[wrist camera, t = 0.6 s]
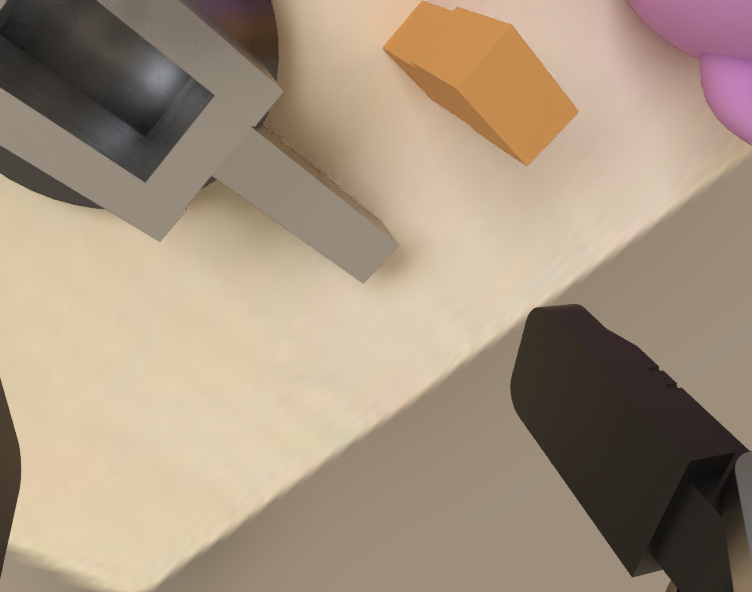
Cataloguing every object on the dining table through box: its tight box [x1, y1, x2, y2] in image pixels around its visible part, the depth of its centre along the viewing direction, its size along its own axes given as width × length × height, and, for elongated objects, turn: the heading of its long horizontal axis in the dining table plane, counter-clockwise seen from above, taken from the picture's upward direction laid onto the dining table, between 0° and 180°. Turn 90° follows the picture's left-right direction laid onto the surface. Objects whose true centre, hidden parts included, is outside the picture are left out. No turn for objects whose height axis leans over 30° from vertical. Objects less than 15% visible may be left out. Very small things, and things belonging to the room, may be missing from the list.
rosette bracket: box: [0, 0, 399, 284], centre depth 28 cm, size 15×24×8 cm, turn 45°
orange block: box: [383, 1, 579, 166], centre depth 29 cm, size 3×5×10 cm, turn 45°
